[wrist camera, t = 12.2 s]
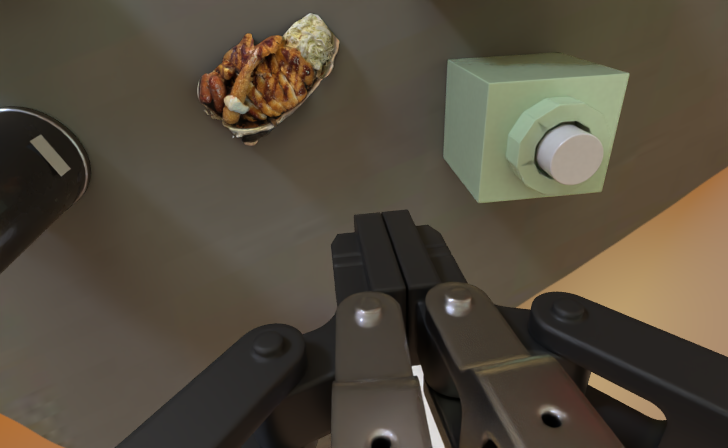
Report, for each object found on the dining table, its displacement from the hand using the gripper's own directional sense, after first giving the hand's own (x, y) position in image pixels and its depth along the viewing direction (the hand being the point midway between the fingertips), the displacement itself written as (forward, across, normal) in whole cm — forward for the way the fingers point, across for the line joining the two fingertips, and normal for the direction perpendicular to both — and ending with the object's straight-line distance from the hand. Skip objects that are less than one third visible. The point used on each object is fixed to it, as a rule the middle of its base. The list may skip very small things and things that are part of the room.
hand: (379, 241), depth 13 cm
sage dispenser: (+29, -15, +5) cm, 33 cm away
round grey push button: (+17, -15, +5) cm, 23 cm away
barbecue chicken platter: (+29, +5, 0) cm, 29 cm away
